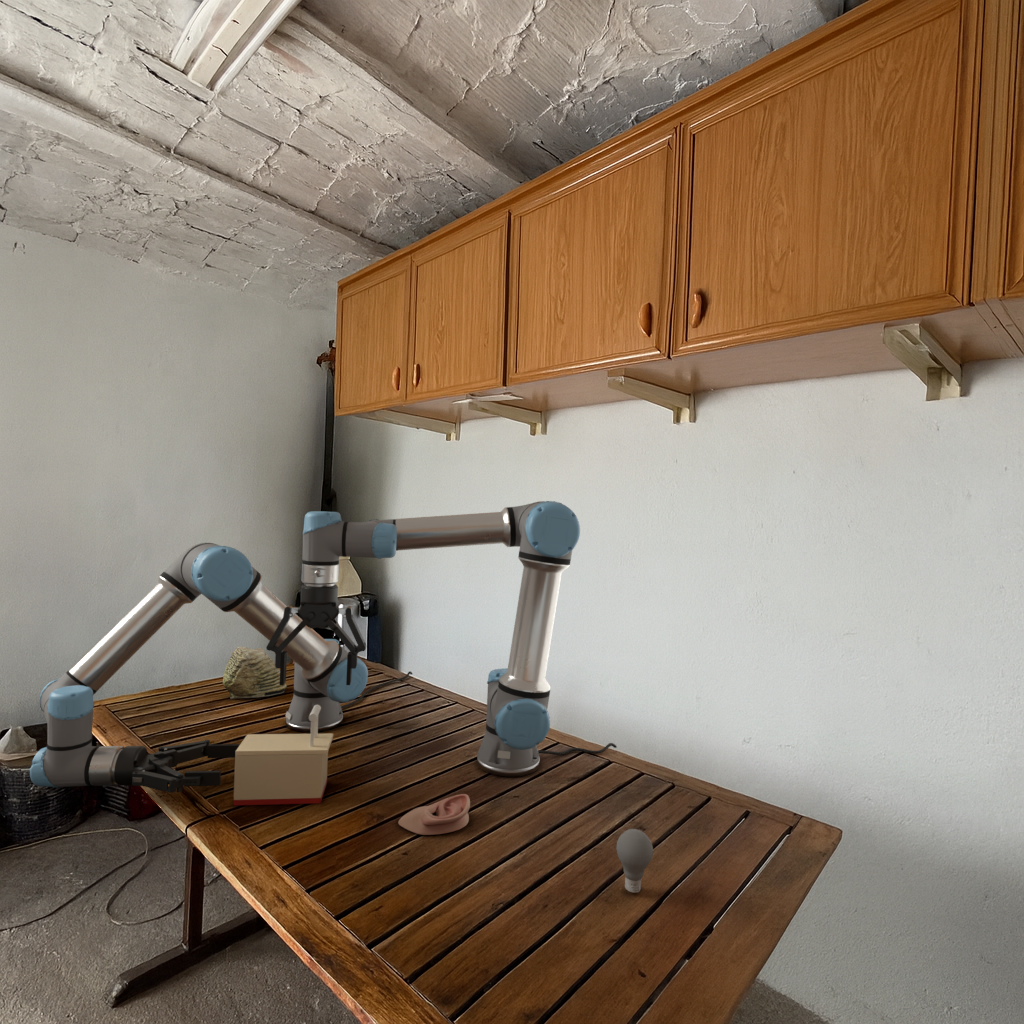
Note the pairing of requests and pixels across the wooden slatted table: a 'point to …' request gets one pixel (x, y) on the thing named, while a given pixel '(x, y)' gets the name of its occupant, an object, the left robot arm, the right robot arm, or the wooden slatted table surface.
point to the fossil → (252, 674)
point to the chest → (280, 779)
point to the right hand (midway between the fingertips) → (316, 683)
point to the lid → (288, 741)
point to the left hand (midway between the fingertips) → (230, 763)
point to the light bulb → (634, 857)
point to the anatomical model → (438, 816)
